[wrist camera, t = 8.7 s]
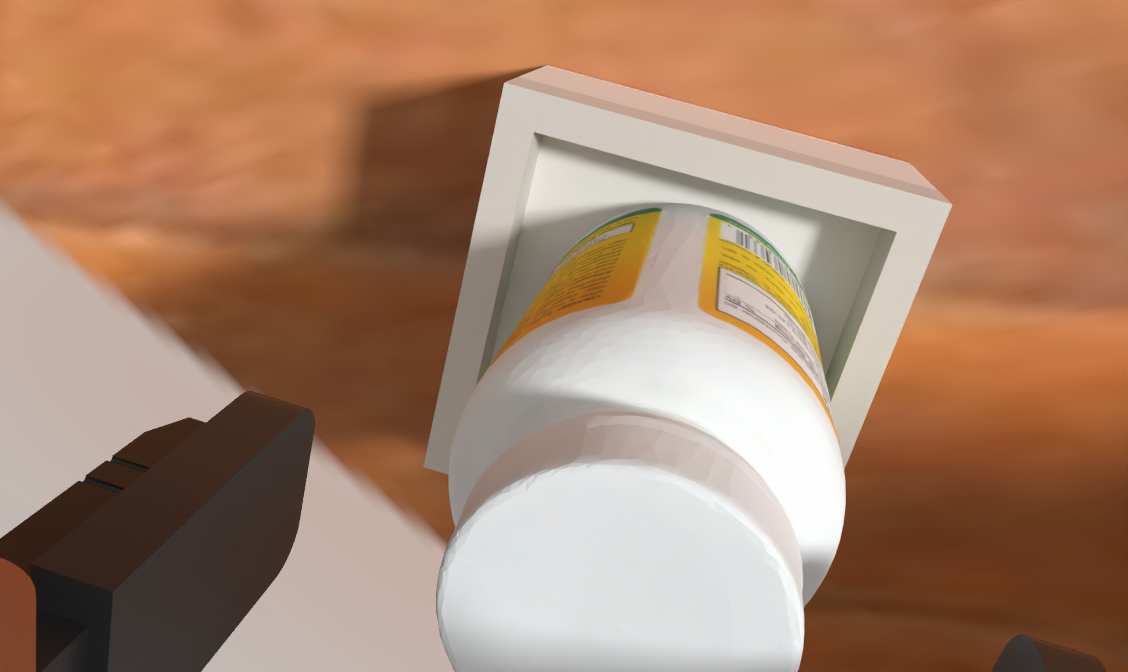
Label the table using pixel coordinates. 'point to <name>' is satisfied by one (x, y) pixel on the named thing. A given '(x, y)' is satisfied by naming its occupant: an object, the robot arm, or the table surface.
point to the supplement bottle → (646, 462)
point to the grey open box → (700, 177)
